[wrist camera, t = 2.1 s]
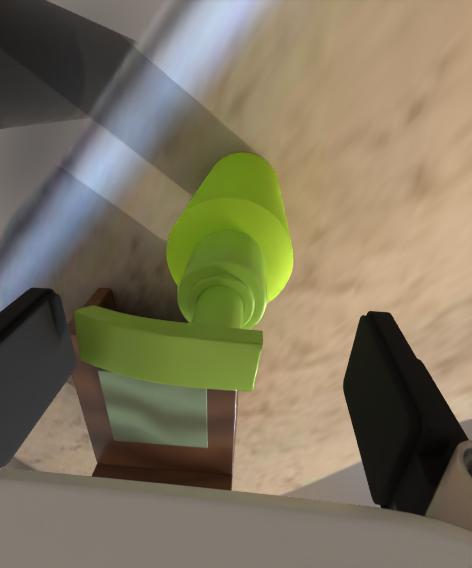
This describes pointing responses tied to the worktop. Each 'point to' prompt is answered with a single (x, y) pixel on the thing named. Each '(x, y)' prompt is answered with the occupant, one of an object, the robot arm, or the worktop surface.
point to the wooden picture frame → (155, 424)
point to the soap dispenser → (206, 287)
